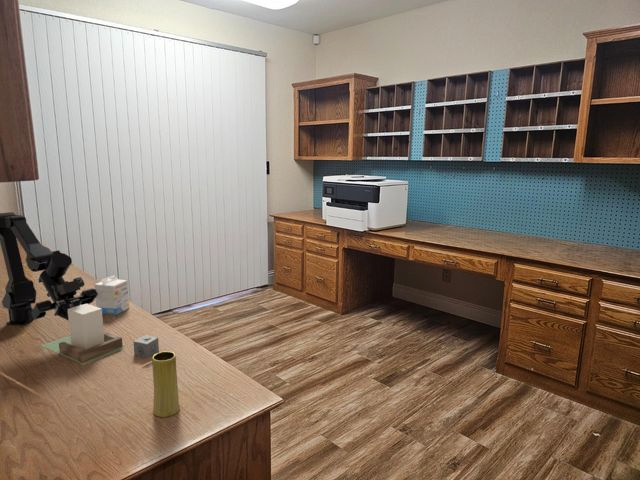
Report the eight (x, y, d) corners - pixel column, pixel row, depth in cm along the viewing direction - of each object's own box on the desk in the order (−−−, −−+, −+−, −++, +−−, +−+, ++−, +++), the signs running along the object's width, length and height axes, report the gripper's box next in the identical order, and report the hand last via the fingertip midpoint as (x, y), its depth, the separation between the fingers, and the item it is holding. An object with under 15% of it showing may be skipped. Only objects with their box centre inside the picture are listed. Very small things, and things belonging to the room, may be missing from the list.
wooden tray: (59, 352, 131) (58, 343, 131) (99, 337, 142) (99, 329, 142) (82, 362, 125) (81, 353, 125) (122, 346, 136) (122, 337, 136)
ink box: (115, 315, 163) (113, 281, 160) (96, 313, 164) (93, 279, 162) (129, 308, 171) (127, 275, 168) (111, 306, 173) (108, 273, 170)
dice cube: (147, 359, 130) (147, 344, 129) (134, 356, 131) (133, 341, 130) (158, 352, 135) (158, 337, 134) (145, 349, 136) (144, 335, 135)
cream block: (71, 348, 134) (67, 309, 132) (89, 341, 139) (86, 303, 137) (86, 355, 130) (82, 314, 128) (104, 347, 135) (101, 308, 133)
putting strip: (41, 346, 136) (41, 345, 136) (84, 331, 148) (84, 330, 148) (83, 366, 124) (83, 364, 124) (126, 348, 136) (126, 347, 136)
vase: (157, 403, 107) (154, 350, 105) (182, 402, 108) (180, 349, 105) (149, 418, 102) (146, 362, 99) (176, 417, 102) (174, 361, 99)
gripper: (32, 277, 127) (56, 320, 124) (92, 264, 143) (115, 302, 140) (21, 298, 133) (44, 340, 129) (80, 283, 148) (102, 320, 145)
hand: (78, 324), depth 136 cm, fingers closed
